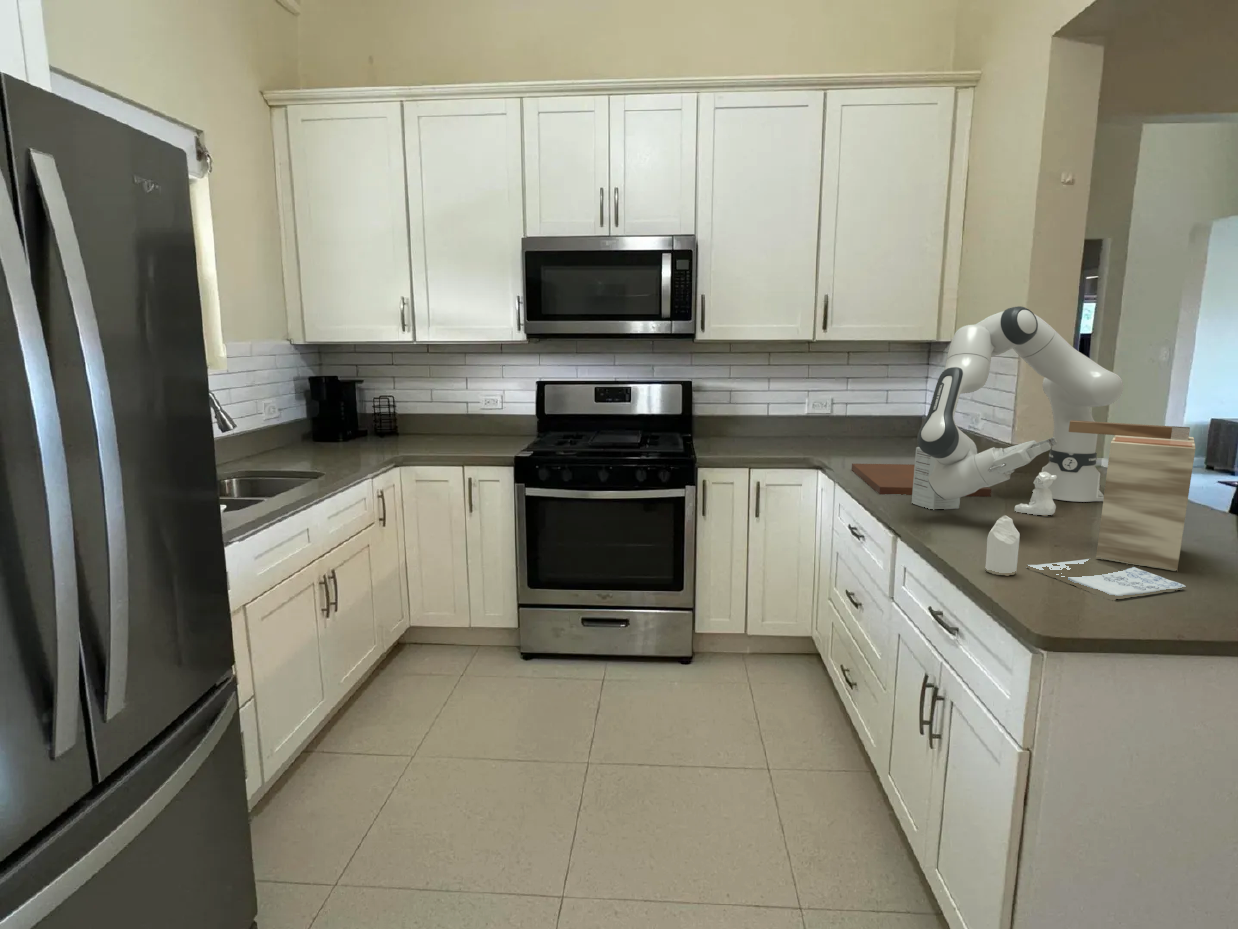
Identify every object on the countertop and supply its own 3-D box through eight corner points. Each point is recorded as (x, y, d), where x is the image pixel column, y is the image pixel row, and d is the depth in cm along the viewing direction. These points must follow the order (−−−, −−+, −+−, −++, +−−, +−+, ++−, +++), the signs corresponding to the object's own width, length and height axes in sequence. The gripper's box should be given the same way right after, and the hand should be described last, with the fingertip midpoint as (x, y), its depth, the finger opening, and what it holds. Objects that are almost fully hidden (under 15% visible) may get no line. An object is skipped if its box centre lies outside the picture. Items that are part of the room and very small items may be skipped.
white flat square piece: (1112, 604, 129) (1114, 593, 129) (1022, 570, 148) (1023, 560, 148) (1187, 593, 135) (1189, 583, 134) (1091, 561, 154) (1092, 552, 153)
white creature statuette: (1036, 508, 198) (1041, 467, 196) (1065, 515, 190) (1070, 472, 188) (1012, 511, 195) (1016, 469, 193) (1040, 519, 187) (1045, 475, 185)
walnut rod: (1070, 430, 167) (1071, 419, 167) (1188, 438, 154) (1189, 427, 153) (1068, 432, 164) (1069, 421, 164) (1188, 440, 151) (1189, 429, 150)
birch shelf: (1103, 538, 169) (1117, 430, 164) (1176, 549, 160) (1193, 435, 156) (1095, 559, 153) (1110, 440, 149) (1176, 572, 145) (1195, 447, 140)
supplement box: (932, 511, 196) (937, 451, 193) (910, 503, 204) (914, 446, 201) (960, 508, 199) (965, 450, 195) (937, 501, 207) (941, 445, 204)
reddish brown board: (945, 473, 252) (851, 471, 256) (945, 465, 252) (851, 463, 255) (990, 498, 213) (879, 496, 216) (991, 489, 212) (880, 486, 216)
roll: (998, 520, 140) (983, 513, 146) (993, 576, 143) (978, 567, 148) (1028, 519, 141) (1011, 512, 146) (1022, 576, 143) (1006, 567, 148)
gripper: (979, 460, 169) (1039, 436, 161) (996, 449, 185) (1052, 426, 176) (992, 484, 168) (1053, 460, 160) (1008, 470, 184) (1064, 449, 176)
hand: (1052, 442), depth 168 cm, fingers open, 8 cm apart
